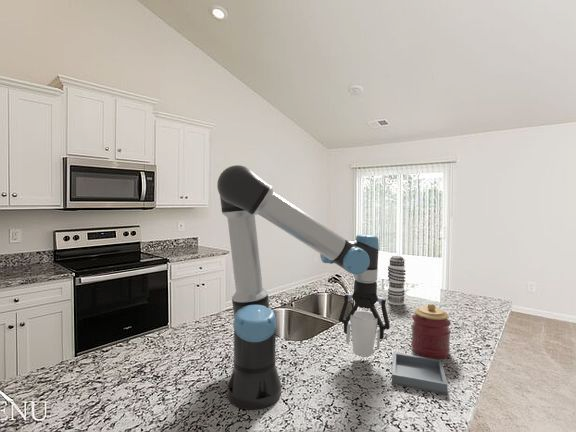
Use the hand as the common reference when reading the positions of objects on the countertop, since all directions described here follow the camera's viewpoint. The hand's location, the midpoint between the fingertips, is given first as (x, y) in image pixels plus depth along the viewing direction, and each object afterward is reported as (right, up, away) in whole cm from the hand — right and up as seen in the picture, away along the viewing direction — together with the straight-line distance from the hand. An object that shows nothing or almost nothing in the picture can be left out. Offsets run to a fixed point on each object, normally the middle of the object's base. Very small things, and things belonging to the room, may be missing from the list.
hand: (362, 345), depth 110 cm
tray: (+15, -6, -9) cm, 19 cm away
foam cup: (0, -3, 0) cm, 3 cm away
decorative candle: (+33, -3, +64) cm, 72 cm away
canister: (+26, -6, +8) cm, 28 cm away
